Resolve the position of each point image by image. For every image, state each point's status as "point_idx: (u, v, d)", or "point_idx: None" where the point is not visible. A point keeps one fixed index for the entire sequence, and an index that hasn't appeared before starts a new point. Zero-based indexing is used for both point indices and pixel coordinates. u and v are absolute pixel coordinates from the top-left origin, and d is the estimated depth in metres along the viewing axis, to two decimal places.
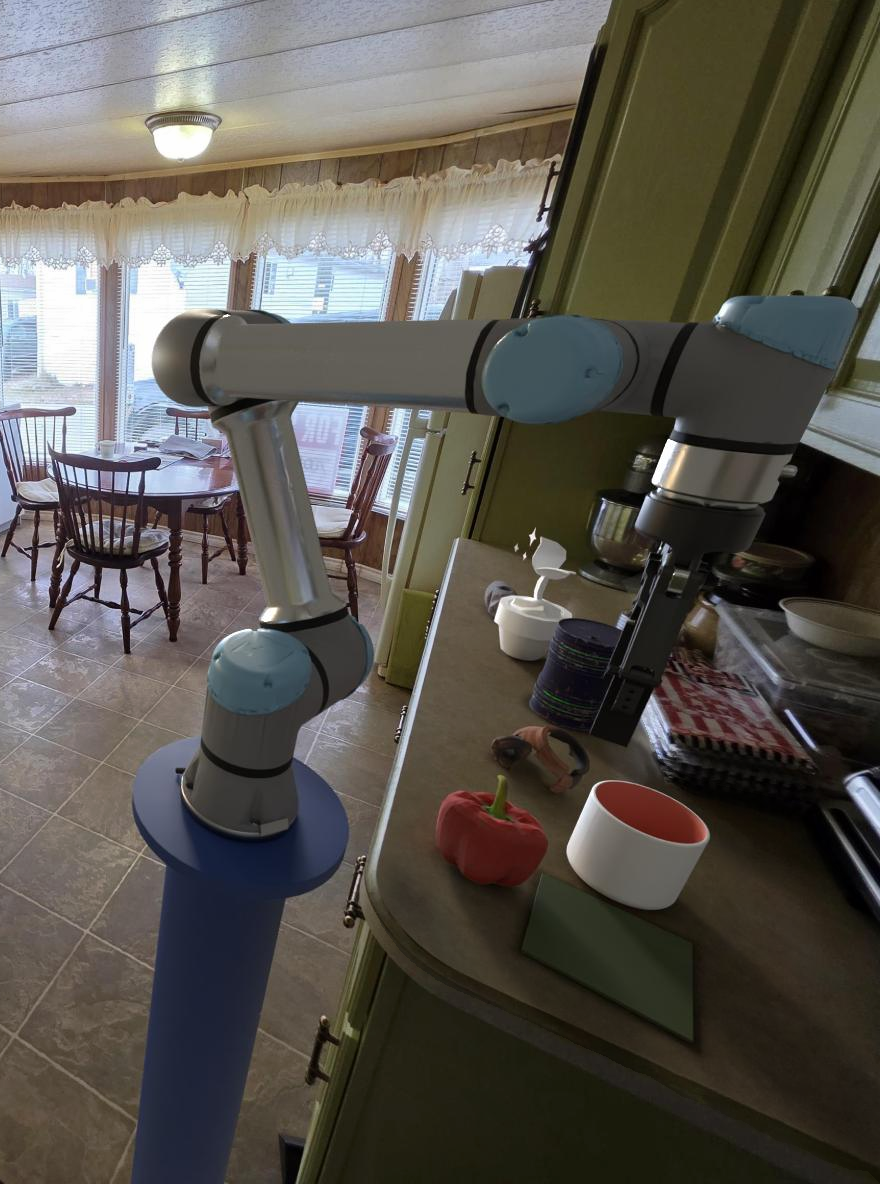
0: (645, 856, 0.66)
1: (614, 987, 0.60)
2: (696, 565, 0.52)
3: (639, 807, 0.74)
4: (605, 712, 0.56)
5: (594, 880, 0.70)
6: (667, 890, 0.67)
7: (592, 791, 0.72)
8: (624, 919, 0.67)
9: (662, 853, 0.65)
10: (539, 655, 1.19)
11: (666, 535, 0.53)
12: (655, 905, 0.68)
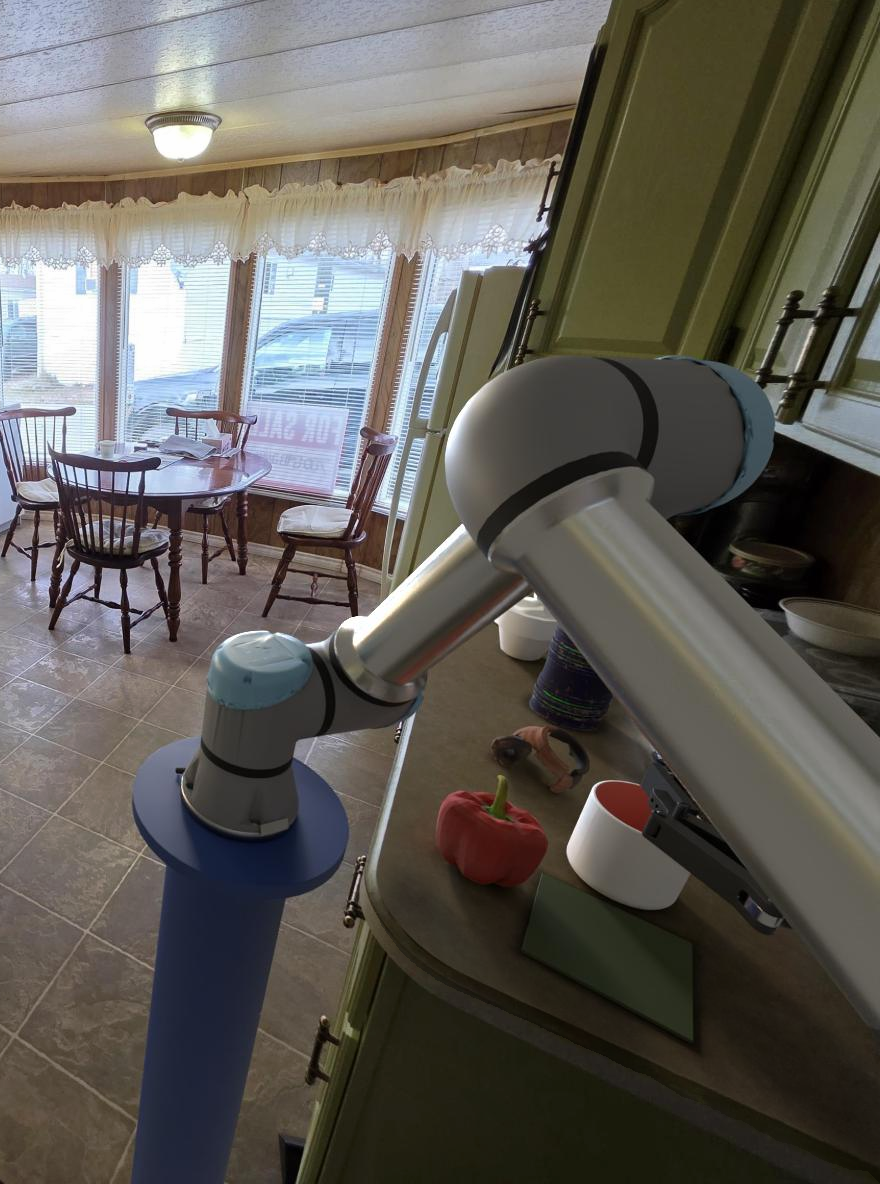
0: (645, 856, 0.66)
1: (614, 987, 0.60)
2: None
3: (639, 807, 0.74)
4: (663, 783, 0.56)
5: (594, 880, 0.70)
6: (667, 890, 0.67)
7: (592, 791, 0.72)
8: (624, 919, 0.67)
9: (662, 853, 0.65)
10: (539, 655, 1.19)
11: None
12: (655, 905, 0.68)
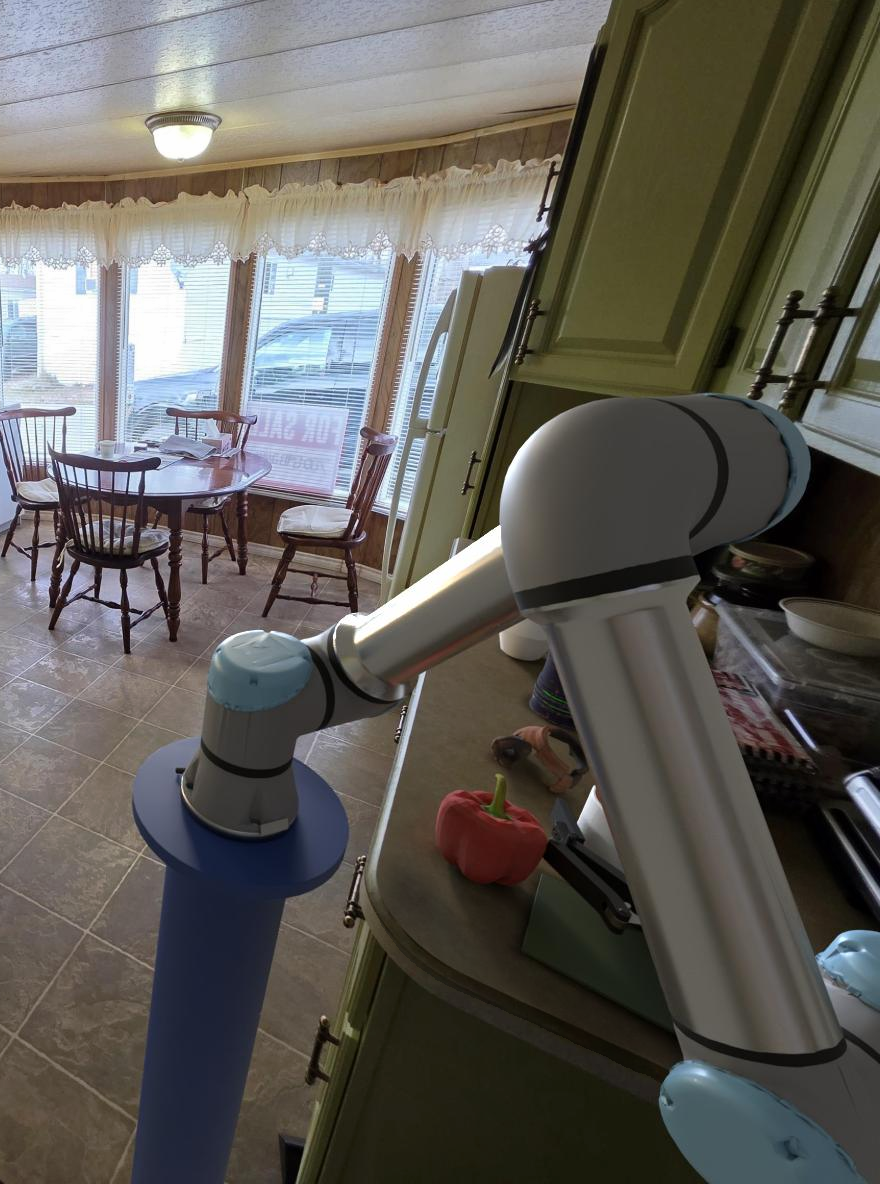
0: None
1: (614, 987, 0.60)
2: None
3: None
4: (564, 816, 0.72)
5: None
6: None
7: (592, 791, 0.72)
8: None
9: None
10: (539, 655, 1.19)
11: None
12: None
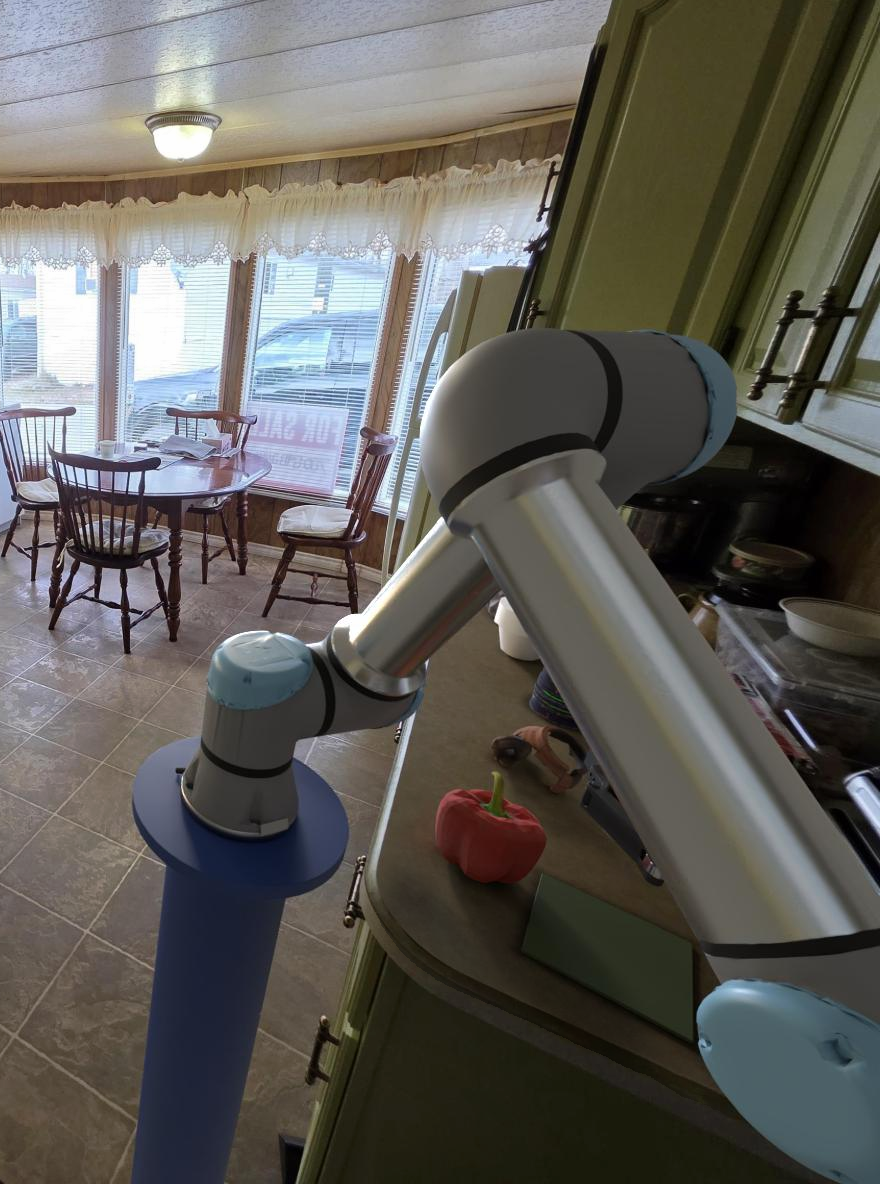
0: None
1: (614, 987, 0.60)
2: None
3: None
4: None
5: None
6: None
7: None
8: (624, 919, 0.67)
9: None
10: None
11: None
12: None
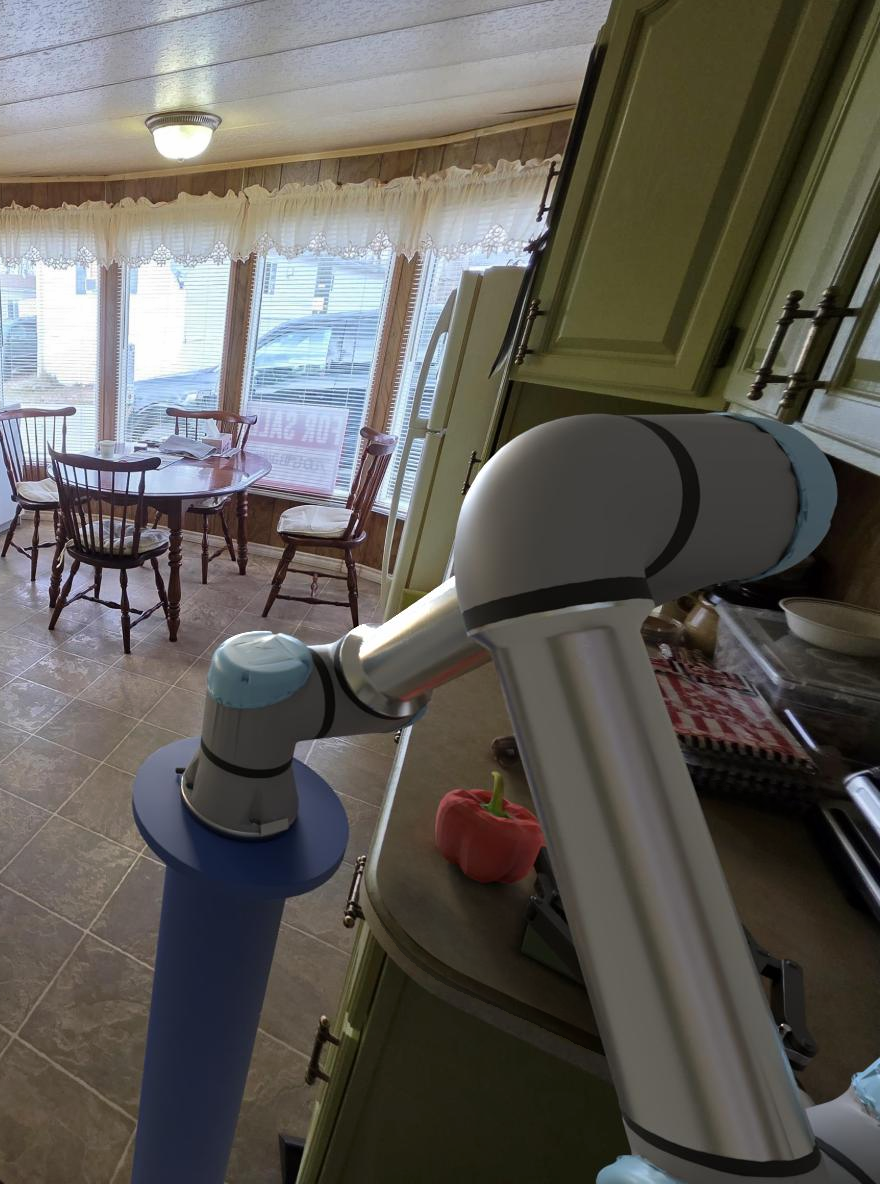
0: None
1: None
2: None
3: None
4: (548, 867, 0.64)
5: None
6: None
7: None
8: None
9: None
10: None
11: None
12: None
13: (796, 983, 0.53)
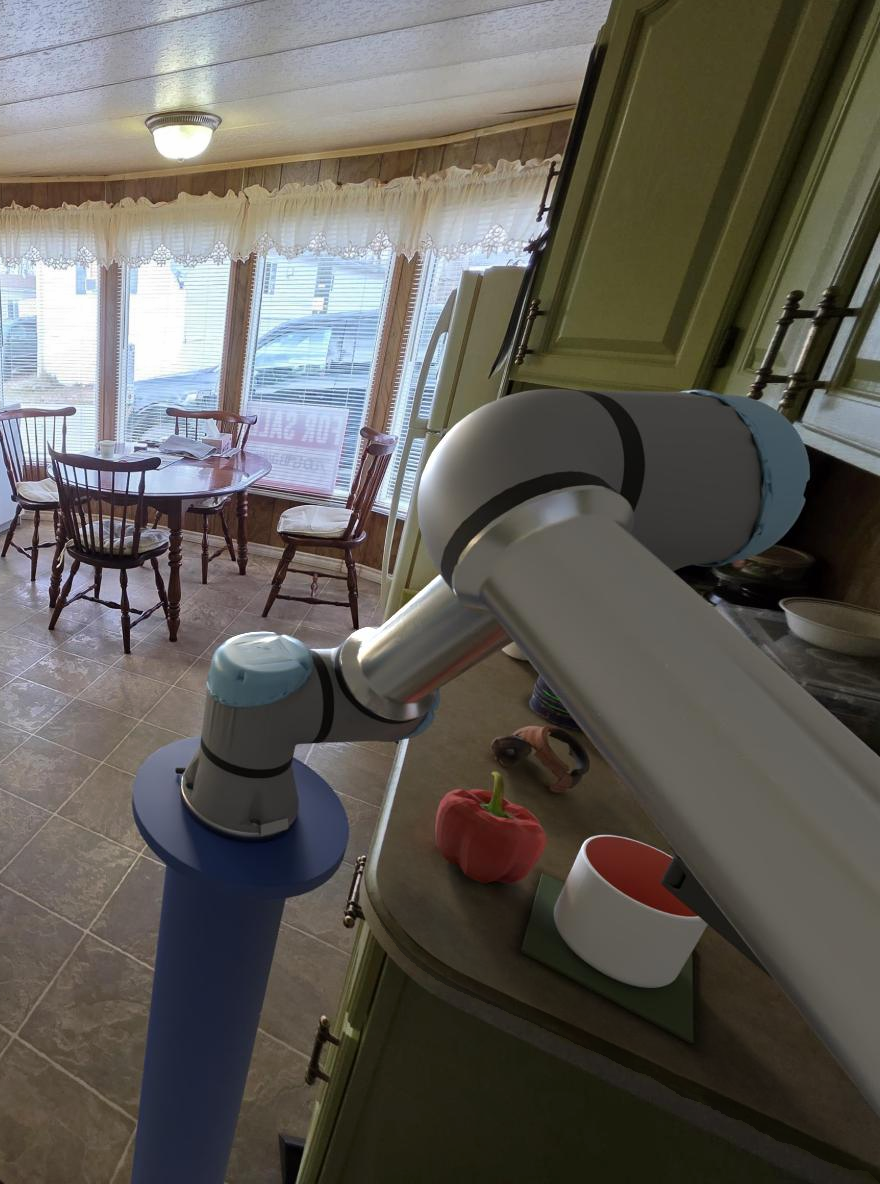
0: (642, 929, 0.58)
1: (614, 987, 0.60)
2: None
3: (635, 865, 0.65)
4: None
5: (584, 951, 0.62)
6: (667, 967, 0.58)
7: (582, 849, 0.63)
8: None
9: (661, 927, 0.57)
10: None
11: None
12: (653, 983, 0.59)
13: None
